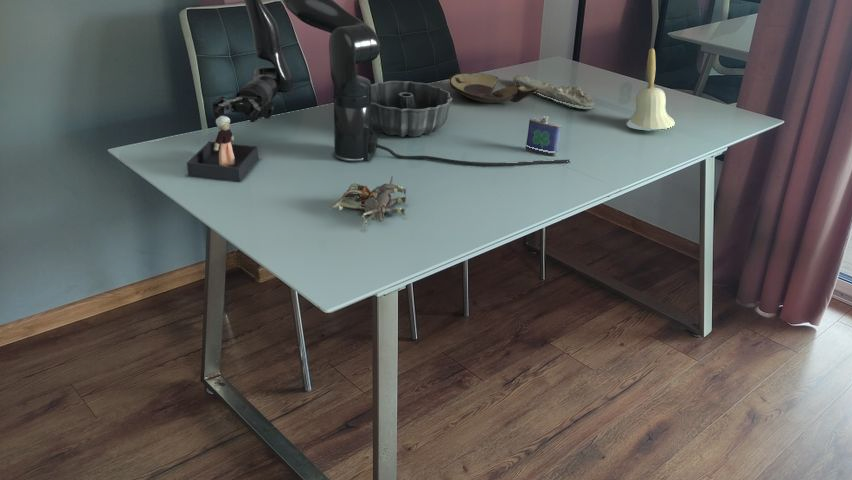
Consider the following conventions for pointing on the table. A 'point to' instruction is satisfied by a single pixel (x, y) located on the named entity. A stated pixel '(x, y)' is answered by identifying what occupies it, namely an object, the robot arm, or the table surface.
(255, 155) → the pan
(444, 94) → the bundt pan
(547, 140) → the flask
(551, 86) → the elongated rock
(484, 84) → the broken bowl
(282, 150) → the table surface
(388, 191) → the figurine
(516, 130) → the table surface
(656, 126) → the handbell
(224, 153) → the grandmother figurine
